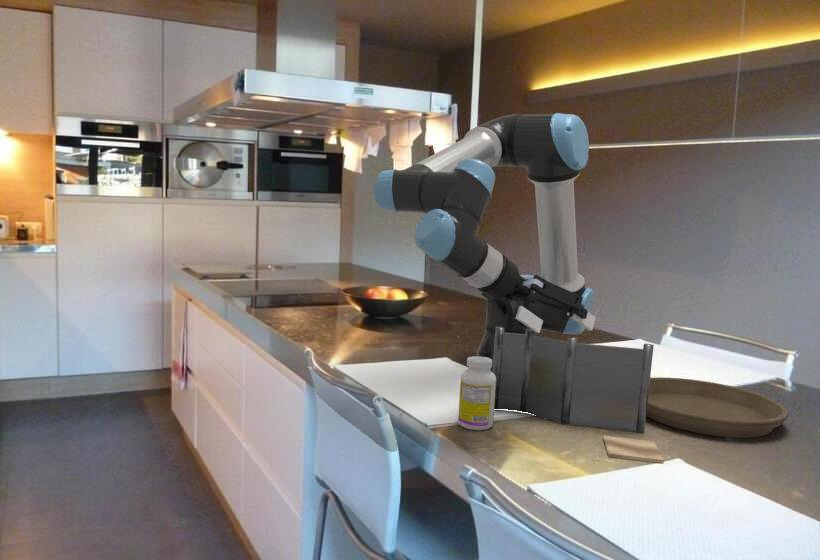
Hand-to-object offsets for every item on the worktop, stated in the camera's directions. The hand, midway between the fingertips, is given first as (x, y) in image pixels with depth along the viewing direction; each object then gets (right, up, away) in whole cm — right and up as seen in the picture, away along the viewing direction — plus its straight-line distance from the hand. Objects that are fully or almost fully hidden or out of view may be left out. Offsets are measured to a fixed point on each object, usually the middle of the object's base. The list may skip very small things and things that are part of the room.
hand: (565, 325), depth 131 cm
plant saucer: (+31, -20, +12) cm, 39 cm away
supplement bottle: (-18, -19, -2) cm, 26 cm away
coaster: (+9, -21, -10) cm, 26 cm away
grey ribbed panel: (+1, -19, +4) cm, 19 cm away
